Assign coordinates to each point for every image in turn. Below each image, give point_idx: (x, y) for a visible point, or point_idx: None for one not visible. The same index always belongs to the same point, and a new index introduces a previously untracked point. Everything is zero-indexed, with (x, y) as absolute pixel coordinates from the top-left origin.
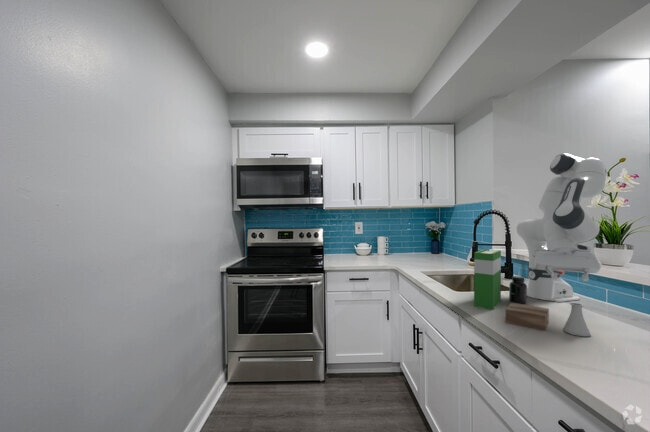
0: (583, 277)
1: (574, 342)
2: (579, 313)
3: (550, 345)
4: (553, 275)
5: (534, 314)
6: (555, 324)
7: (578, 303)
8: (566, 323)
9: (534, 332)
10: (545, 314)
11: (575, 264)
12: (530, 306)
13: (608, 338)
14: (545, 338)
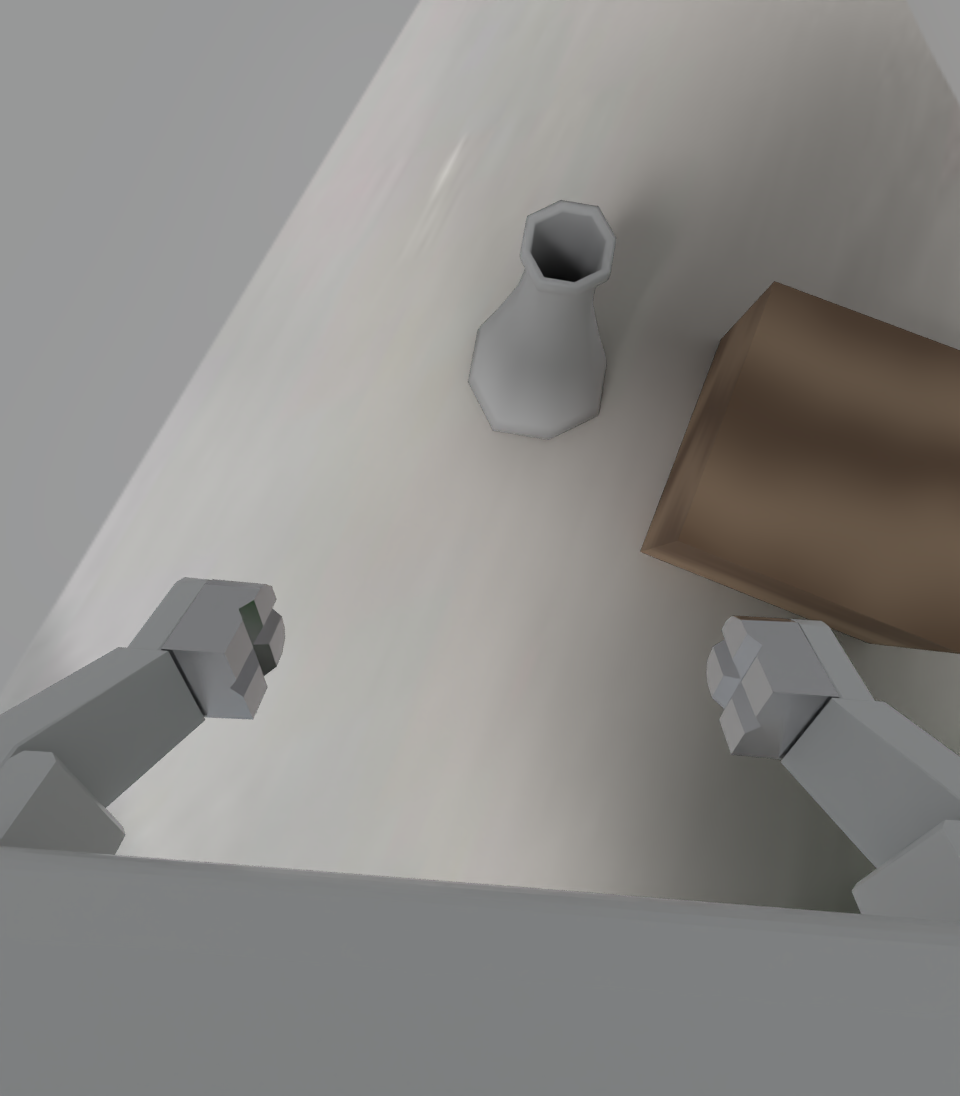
0: (256, 607)
1: (615, 199)
2: (550, 257)
3: (760, 108)
4: (818, 625)
5: (843, 312)
6: (610, 509)
7: (540, 277)
8: (596, 370)
9: (794, 288)
10: (756, 345)
11: (167, 1000)
12: (818, 562)
13: (387, 338)
14: (756, 206)
